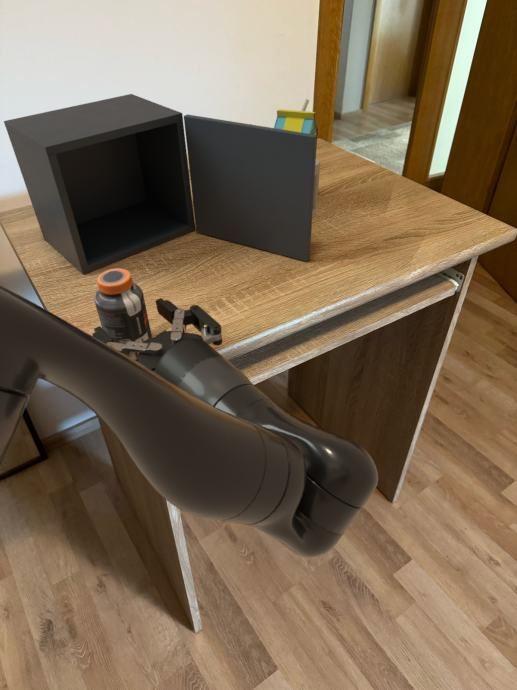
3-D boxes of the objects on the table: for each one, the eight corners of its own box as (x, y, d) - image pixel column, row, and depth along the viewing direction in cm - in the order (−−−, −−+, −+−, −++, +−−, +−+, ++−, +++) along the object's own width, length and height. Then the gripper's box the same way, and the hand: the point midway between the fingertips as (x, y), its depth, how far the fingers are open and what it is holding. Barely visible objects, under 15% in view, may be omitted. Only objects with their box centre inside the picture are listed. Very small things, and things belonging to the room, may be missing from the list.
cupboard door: (214, 218, 93) (205, 105, 80) (322, 245, 85) (332, 124, 72) (196, 232, 89) (183, 115, 76) (307, 261, 81) (314, 136, 68)
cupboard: (195, 230, 90) (182, 112, 77) (83, 274, 79) (45, 147, 66) (150, 202, 99) (131, 93, 86) (43, 239, 88) (3, 121, 75)
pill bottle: (161, 350, 65) (146, 279, 57) (119, 368, 62) (98, 296, 55) (142, 327, 69) (127, 257, 61) (102, 343, 66) (81, 272, 59)
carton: (316, 193, 101) (322, 99, 90) (306, 209, 96) (311, 111, 84) (281, 189, 103) (283, 96, 91) (270, 204, 98) (270, 108, 86)
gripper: (256, 332, 52) (173, 271, 62) (141, 398, 45) (66, 318, 55) (257, 381, 57) (180, 318, 66) (153, 447, 50) (83, 366, 60)
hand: (129, 318), depth 60 cm, fingers open, 8 cm apart
